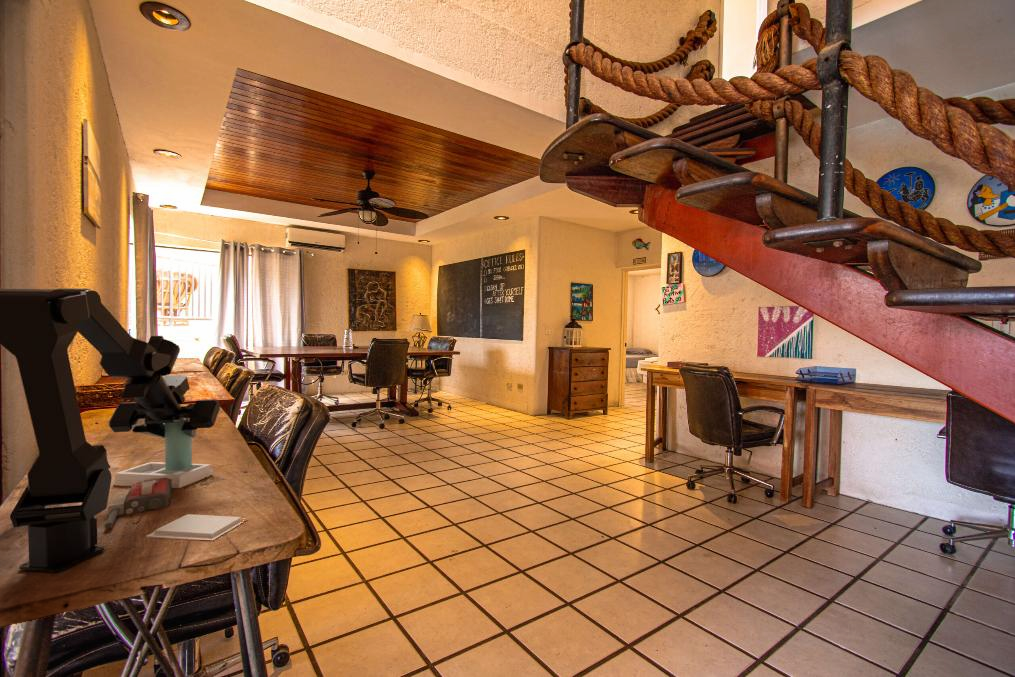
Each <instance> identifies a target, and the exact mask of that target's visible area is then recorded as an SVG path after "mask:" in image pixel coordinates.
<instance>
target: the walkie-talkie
mask: <svg viewBox="0 0 1015 677" xmlns="http://www.w3.org/2000/svg"><path fill="white" fill-rule="evenodd" d="M172 490H173V488H172V479H169V478H158V479H157V478H152V479H145V480H144V481H139V482H137V483H135V484H133V485H132V486H130V488H129V490H128V492H127V493H126V494H123V495H120V496H117V497H115V498H113V499H112V500H111V502H110V504H108V505H107V515H108V516H107V517H108V518H107V519H106V522H105V523H104V528H109V529H110V528H112V527H113V525H114V522H116V518H117V517H118V516H120V515H131V514H135V513H140V512H147V511H151V510H152V509H153V511H155V510H158V509H163V508H162V507H164V508H167V507H169V505H170V501H171V496H172V495H171V494H172ZM168 504H169V505H168ZM166 506H167V507H166Z"/></svg>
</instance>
